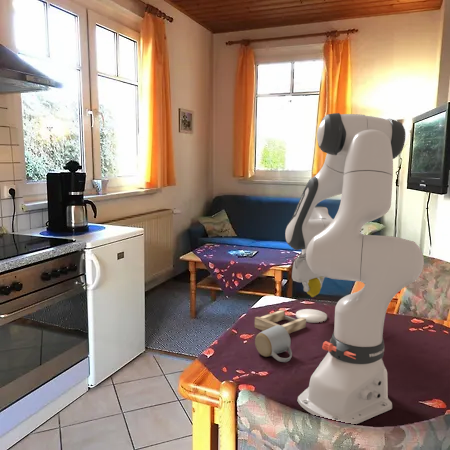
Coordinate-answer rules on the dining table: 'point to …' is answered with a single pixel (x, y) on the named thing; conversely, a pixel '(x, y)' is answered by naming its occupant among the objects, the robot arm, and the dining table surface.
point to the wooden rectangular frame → (270, 320)
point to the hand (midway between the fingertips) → (312, 289)
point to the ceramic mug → (274, 342)
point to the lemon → (314, 287)
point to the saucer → (312, 315)
